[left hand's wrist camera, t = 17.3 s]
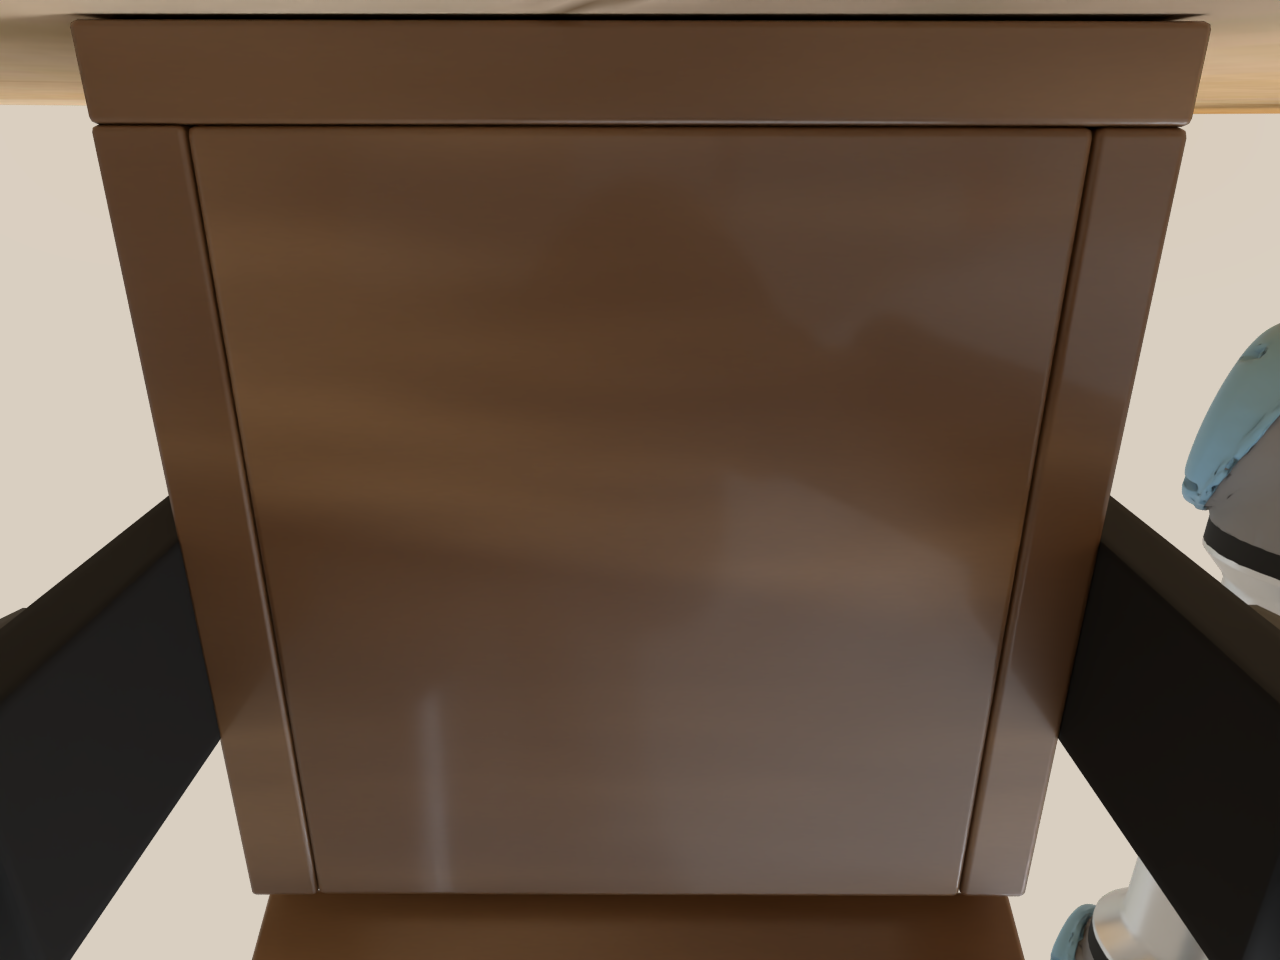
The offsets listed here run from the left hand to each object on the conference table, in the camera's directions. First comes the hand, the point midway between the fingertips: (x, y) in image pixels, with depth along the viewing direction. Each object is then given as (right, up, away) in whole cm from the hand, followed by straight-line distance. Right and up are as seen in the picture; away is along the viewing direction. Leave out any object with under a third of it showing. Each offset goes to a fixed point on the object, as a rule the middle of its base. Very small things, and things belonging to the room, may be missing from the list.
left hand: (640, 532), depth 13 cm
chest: (0, +8, +1) cm, 8 cm away
